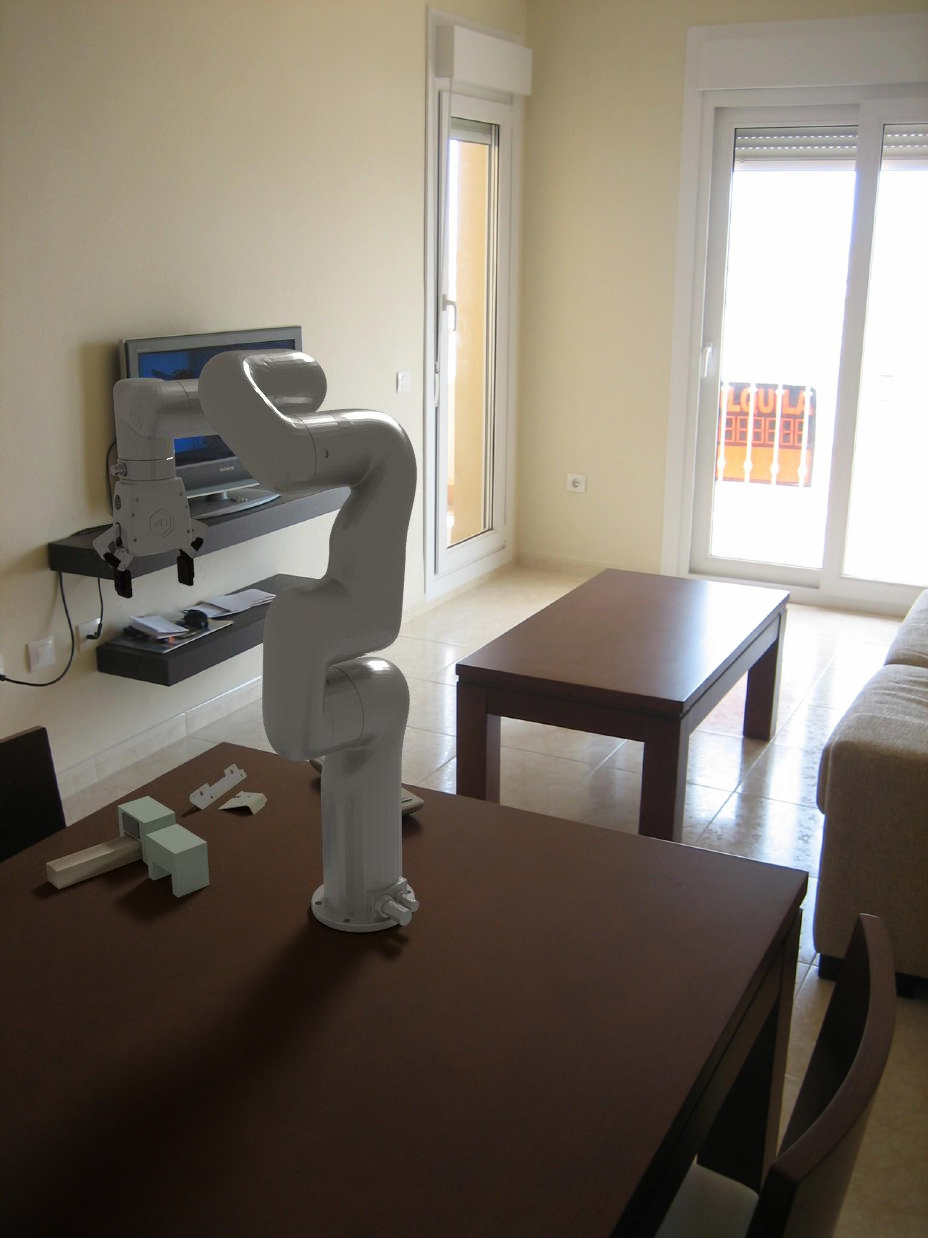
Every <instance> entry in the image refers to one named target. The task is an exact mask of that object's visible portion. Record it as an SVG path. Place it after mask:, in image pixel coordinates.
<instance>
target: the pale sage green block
mask: <svg viewBox="0 0 928 1238" xmlns="http://www.w3.org/2000/svg"><path fill="white" fill-rule="evenodd" d="M146 843H147V856H148V865H147V866H148V878H149V879H151V881H152V880H153V881H156V880H159V879H162V878H164V877H167V876H169V875H171V883H172V884H171V886H172V894H173V896H175V897H177V898H180V897H183V896H186V895H189V894H190V893H192V892H197V890H198V891H199V890H200V889H203V888H206V887H207V886H210V870H209V857H208V855H209V854H208V842H207V841H206V840H204V839H203V838H201V837H199V836H198V835H196V834H194V833H193V832H191V831H190V830H188V829H187V828H185V827H183V826H182V825H181V824H179V823H176V824H175V825H172V826H169V827H166V828H164V829H161V830H158V831H155V832H152V833H150V834H147V835H146Z"/></svg>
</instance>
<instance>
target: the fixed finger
mask: <svg viewBox="0 0 928 1238" xmlns="http://www.w3.org/2000/svg"><path fill="white" fill-rule="evenodd" d="M117 815H118V825H119V826H118V828H119V837H122V836H125V835H127V834H130V835H131V836H133V837H134V838H136V839H137V840H139V841H140V842H141V843H142V856H143V858H142V862H143V863H145V864H146V865H147V866H148V856H147V843H146V835H147V834H150V833H152V832H155V831H158V830H161V829H164V828H166V827H169V826H172V825H175V824H177V822H176V821H177V820H176V818H177V817H176V812H175V811H174V810H172V809H171V808H168V807H167V806H165V805H164V804H162V803H160V802H159V801H157V800H155V799H154V798H152V797H150V796H149V795H147V796H143V797H141V798H138V799H134V800H131V801H128V802H125V803H122V804H119V805H117Z"/></svg>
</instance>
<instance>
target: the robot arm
mask: <svg viewBox="0 0 928 1238" xmlns="http://www.w3.org/2000/svg"><path fill="white" fill-rule="evenodd" d="M327 382H328V381H327V377H326V374H325V371H324V369H323V368H322V366H321V365H320V364H319V362H318V361H317V360H316V359H315V358H313V357H312V356H311V355H309V354H307V353H305V352H303V351H300V350H298V349H291V348H269V349H268V348H266V349H245V350H244V349H243V350H229V351H223V352H220V353H217V354H215V355H214V356H212V357H211V358H210V359H209V360H208V361H207V362H206V363H205V364H204V365H203V368H202V369H201V371H200V375H199V378H188V379H172V380H164V379H163V378H162V379H161V378H156V377H129V378H123V379H119V380H118V381H116V382H115V383H114V386H113V389H112V390H113V391H112V395H113V396H112V397H113V408H114V421H115V433H116V434H115V435H116V436H115V437H116V449H117V457H118V458H116V462H117V463H116V464H113V465H111V466H110V474H111V475H112V476H118V478H119V480H117V481H115V485H114V493H113V504H112V506H113V507H112V526H111V527H110V528H108V529H107V530H106V531H105V532H103V533H102V534H100V535H99V536H98V537H95V539H93V540H92V545H93V548H94V549H95V552H96V553H97V554H98V555H99V559H101V560H102V561H103V562H105V563H106V564H107V565H108V566H109V567H110V568H111V569H112V571H113V584H114V586H113V587H114V590H115V592H116V593H117V595H118V596H120V597H122V598H125V599H128V600H129V599H132V597H133V584H132V572H131V570H130V569H128V567H129V565H130V563H131V561H133V558H134V557H135V556H136V557H145V556H151V555H156V554H162V553H167V552H173V551H175V552H176V551H177V552H178V553H179V555H176V556H177V557H176V568H177V569H176V570H177V582H178V583H179V584H181V585H185V586H187V587H193V586H194V585H195V584H194V582H195V581H194V579H195V576H196V575H195V563H194V562H195V560H194V559H195V558H197V556H198V551H200V549H201V547H202V546H203V545H204V538H205V537H206V535H207V531H208V528H209V525H208V524H206V523H204V522H202V521H200V520H197V519H194V518H192V517H191V512H190V505H189V500H188V496H187V493H186V487H185V485H184V482H183V478H182V477H180V476H177V469H176V456H175V455H176V454H175V453H176V452H175V440H177V439H178V440H179V439H186V438H193V437H195V438H197V437H207V436H219V437H220V439H221V440H222V441H223V443H224V444H225V445H226V446H227V447H228V448H229V449H230V451H231V452H232V453H233V455H234V456H235V457H236V458H237V460H239V462H240V463H241V464H242V465H243V467H244V468H245V470H246V471H247V472H248V473H249V474H250V476H251V477H252V478H253V480H255V481H256V482H257V483H258V484H259V486H261V488H264V489H265V490H266V491H268V492H270V493H272V494H275V495H280V496H295V495H301V494H308V493H315V492H322V491H329V490H335V489H340V488H346V487H347V488H348V489H349V490H350V493H349V495H348V497H347V498H346V499H345V501H344V502H343V504H342V506H341V507H340V509H339V510H338V512H337V515H336V516H335V519H334V521H333V524H332V527H331V529H330V534H329V538H328V539H329V540H328V562H327V568H326V571H325V574H324V575H322V577H321V578H317V579H313V580H312V579H311V580H307V581H303V582H299V583H295V584H292V585H290V586H287V587H285V588H283V589H282V590H281V591H279V592H278V593H277V594H276V595H275V596H274V597H273V598H272V600H271V602H270V604H269V605H268V609H267V611H266V614H265V617H264V623H263V634H262V635H263V636H262V686H261V687H262V689H261V690H262V691H261V693H262V694H261V696H262V697H261V700H262V701H261V705H262V706H261V709H262V721H263V727H264V732H265V735H266V738H267V741H268V742H269V745H270V747H272V748H271V749H273V751H274V752H275V753H276V754H277V755H278V756H280V757H281V758H282V759H284V760H286V761H290V762H295V763H296V762H297V763H299V762H301V763H302V762H308V761H311V760H315V759H318V758H321V757H324V759H323V762H322V768H321V774H320V800H321V802H320V803H321V804H320V805H321V830H322V831H321V833H322V836H321V837H322V839H321V840H322V867H323V869H322V871H323V873H322V874H323V883H322V884H321V885H319V887H317V889H316V890H315V891H314V892H313V894H312V896H311V911H312V914H313V916H315V917H314V918H316V920H318V921H319V922H320V923H322V924H323V925H326V926H327V927H329V928H332V929H335V930H338V931H343V932H348V933H371V932H378V931H382V930H386V929H389V928H391V927H394V926H395V927H396V925H398V924H399V925H400V926H403V927H405V926H407V925H408V924H410V922H411V920H412V917H413V913H416V912H417V911H418V909H419V908H420V902H419V900H416V896H415V892H414V890H413V888H412V887H411V886H410V885H409V884H408V879H407V878H405V877H403V845H402V844H403V838H402V837H403V835H402V834H403V833H402V830H403V827H402V825H403V824H402V822H403V819H402V816H403V815H402V812H403V811H402V809H403V808H402V783H403V782H402V775H403V774H402V771H403V770H402V769H403V768H402V765H403V764H402V763H403V762H402V761H403V748H404V739H405V734H406V729H407V723H408V720H409V713H410V703H411V702H410V701H411V699H410V698H411V695H410V690H409V688H410V687H409V685H408V681H407V678H406V677H405V675H404V673H403V671H401V669H400V668H399V667H398V666H397V665H396V664H395V663H393V662H392V661H390V660H388V659H385V658H382V657H377V656H368V655H371V654H375V653H378V652H381V651H383V650H384V649H387V648H389V647H390V646H391V645H393V644H394V643H395V641H396V640H397V638H398V636H399V634H400V629H401V625H402V619H403V618H402V617H403V605H404V604H403V603H404V589H405V588H404V587H405V574H406V562H407V561H406V559H407V558H406V557H407V556H406V555H407V542H408V531H409V527H410V522H411V521H410V520H411V516H412V511H413V507H414V503H415V498H416V491H417V483H418V481H417V480H418V466H417V460H416V455H415V450H414V447H413V444H412V441H411V439H410V437H409V435H408V434H407V432H406V430H405V429H404V427H403V426H402V425H401V424H400V423H399V422H398V421H397V420H396V419H395V418H394V417H392V416H391V415H389V414H387V413H385V412H382V411H380V410H376V409H369V408H339V409H338V408H337V409H329V410H328V409H327V410H319V409H320V408H321V406H322V404H323V403H324V401H325V398H326V396H327V393H328V391H327V390H328V383H327ZM318 410H319V411H318ZM112 542H113V543H114V547H115V549H116V550H115V552H114V553H112V552H111V551H110V548H109V544H111V543H112Z"/></svg>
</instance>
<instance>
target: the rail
mask: <svg viewBox="0 0 928 1238" xmlns="http://www.w3.org/2000/svg"><path fill="white" fill-rule="evenodd" d="M139 860H143V856H142V843H141V842H140V841H139V840H137V839H136V838H134V837H133V836H131V835H130V834H127V835H125V836H122V837H120V836H119V837H117V838H113V839H111V840H108V841H105V842H102V843H99V844H97V845H94V846H91V847H88V848H85V849H83V850H79V851H76V852H73V853H72V854H68V855H65V856H62V857H60V858H56V859H54V860H51V861H48V862H45V865H46V867H45V868H46V874H47V875H46V876H47V881H48V882H49V884H51V885H52V886H54V887H55V888H57V889H58V890H61V889H64V888H67V887H69V886H72V885H74V884H77V883H80V882H83V881H85V880H88V879H91V878H94V877H97V876H99V875H102V874H105V873H107V872H109V871H112V870H114V869H118V868H120V867H123V866H126V865H129V864H131V863H135V862H136V861H139Z"/></svg>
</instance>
